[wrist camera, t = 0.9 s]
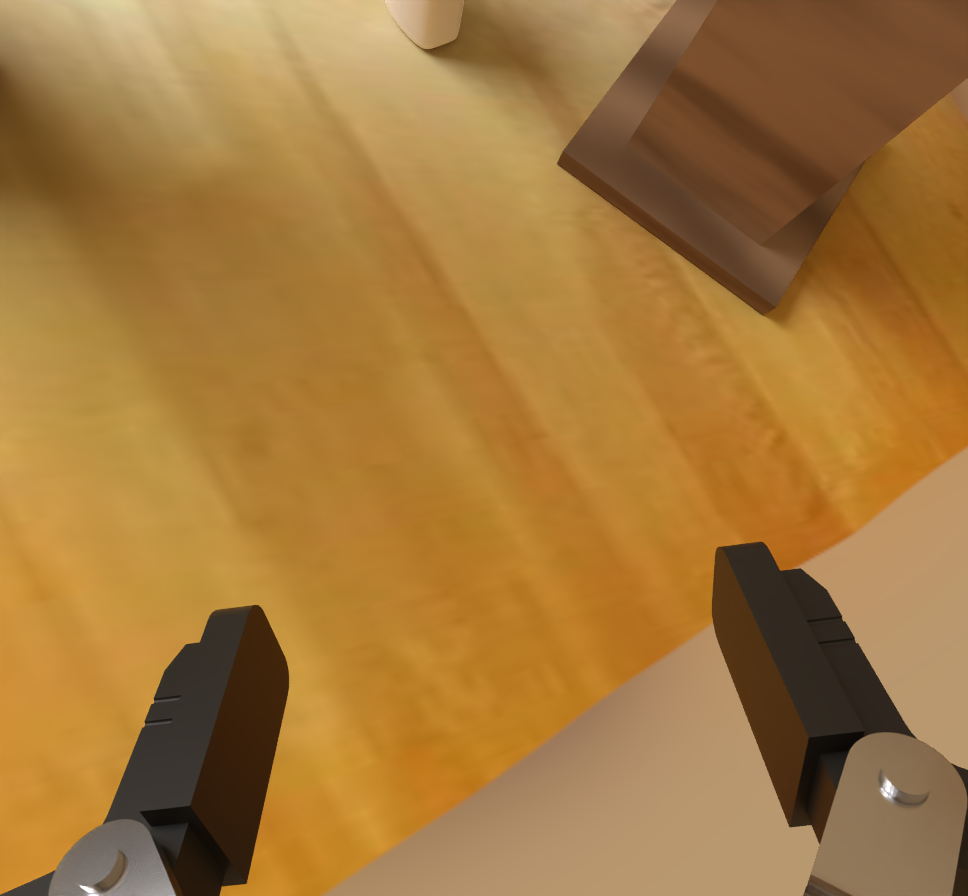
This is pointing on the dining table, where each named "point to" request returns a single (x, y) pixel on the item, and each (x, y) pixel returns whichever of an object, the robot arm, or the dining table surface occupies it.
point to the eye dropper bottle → (428, 20)
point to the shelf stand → (762, 123)
